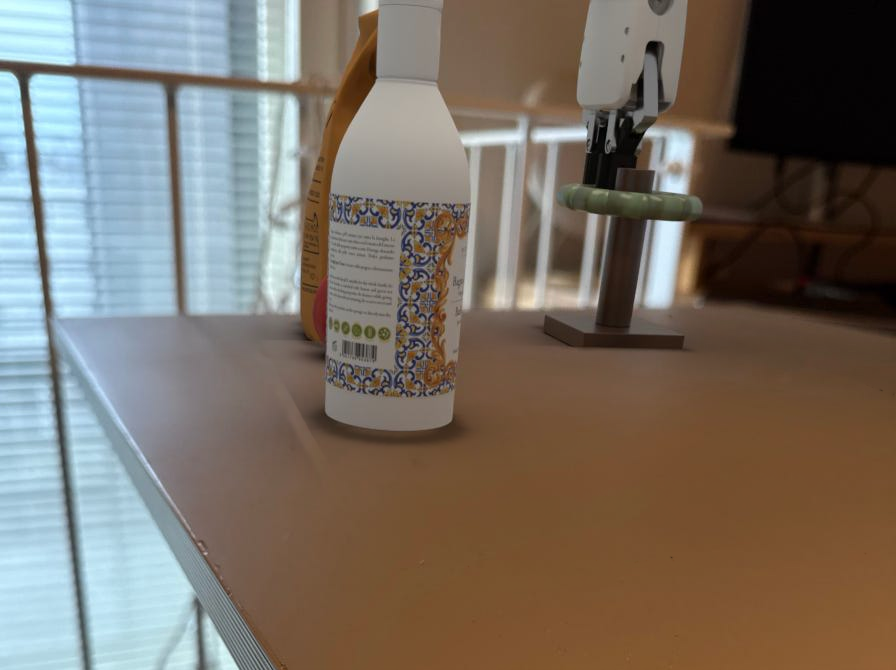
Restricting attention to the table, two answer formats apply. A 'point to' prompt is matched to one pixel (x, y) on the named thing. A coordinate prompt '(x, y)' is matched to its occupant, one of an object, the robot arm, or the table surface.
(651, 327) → the post
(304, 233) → the coffee package
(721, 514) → the table surface
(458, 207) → the bath foam
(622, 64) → the robot arm
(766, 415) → the table surface
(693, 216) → the ring
